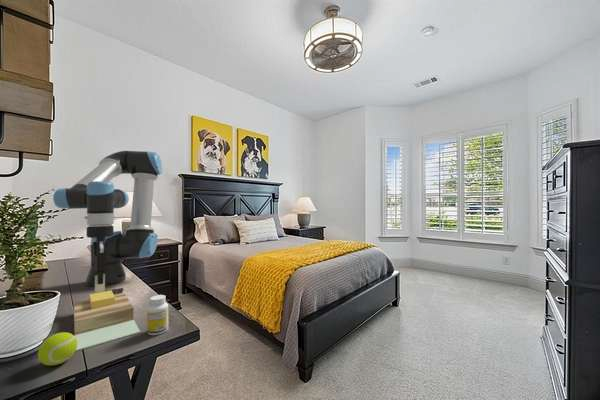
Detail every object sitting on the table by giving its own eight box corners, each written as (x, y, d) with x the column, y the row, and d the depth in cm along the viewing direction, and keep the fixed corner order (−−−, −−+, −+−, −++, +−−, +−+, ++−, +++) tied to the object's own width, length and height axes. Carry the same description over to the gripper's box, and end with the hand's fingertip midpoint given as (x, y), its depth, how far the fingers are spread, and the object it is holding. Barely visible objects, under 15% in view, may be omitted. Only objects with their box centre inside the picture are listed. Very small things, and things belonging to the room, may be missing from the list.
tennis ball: (73, 351, 64) (73, 324, 64) (80, 361, 60) (80, 332, 60) (35, 364, 59) (35, 335, 59) (40, 376, 55) (40, 345, 55)
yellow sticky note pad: (89, 300, 87) (89, 294, 87) (111, 296, 91) (111, 290, 91) (91, 308, 80) (91, 301, 80) (114, 303, 84) (114, 297, 84)
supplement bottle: (154, 326, 77) (154, 293, 77) (172, 326, 77) (172, 293, 77) (142, 335, 72) (142, 300, 72) (161, 336, 72) (162, 300, 72)
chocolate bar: (123, 287, 111) (119, 301, 96) (123, 290, 111) (119, 304, 96) (97, 291, 107) (88, 306, 91) (97, 293, 107) (88, 309, 91)
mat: (74, 336, 72) (74, 335, 72) (133, 320, 81) (133, 319, 81) (75, 351, 64) (75, 350, 64) (140, 332, 74) (140, 331, 74)
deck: (73, 314, 86) (73, 302, 86) (124, 303, 95) (124, 292, 95) (74, 335, 72) (74, 321, 72) (133, 320, 81) (133, 307, 82)
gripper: (85, 225, 93) (85, 290, 93) (87, 227, 83) (86, 300, 83) (111, 223, 98) (110, 286, 98) (115, 225, 88) (115, 295, 88)
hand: (99, 292), depth 90 cm, fingers closed
